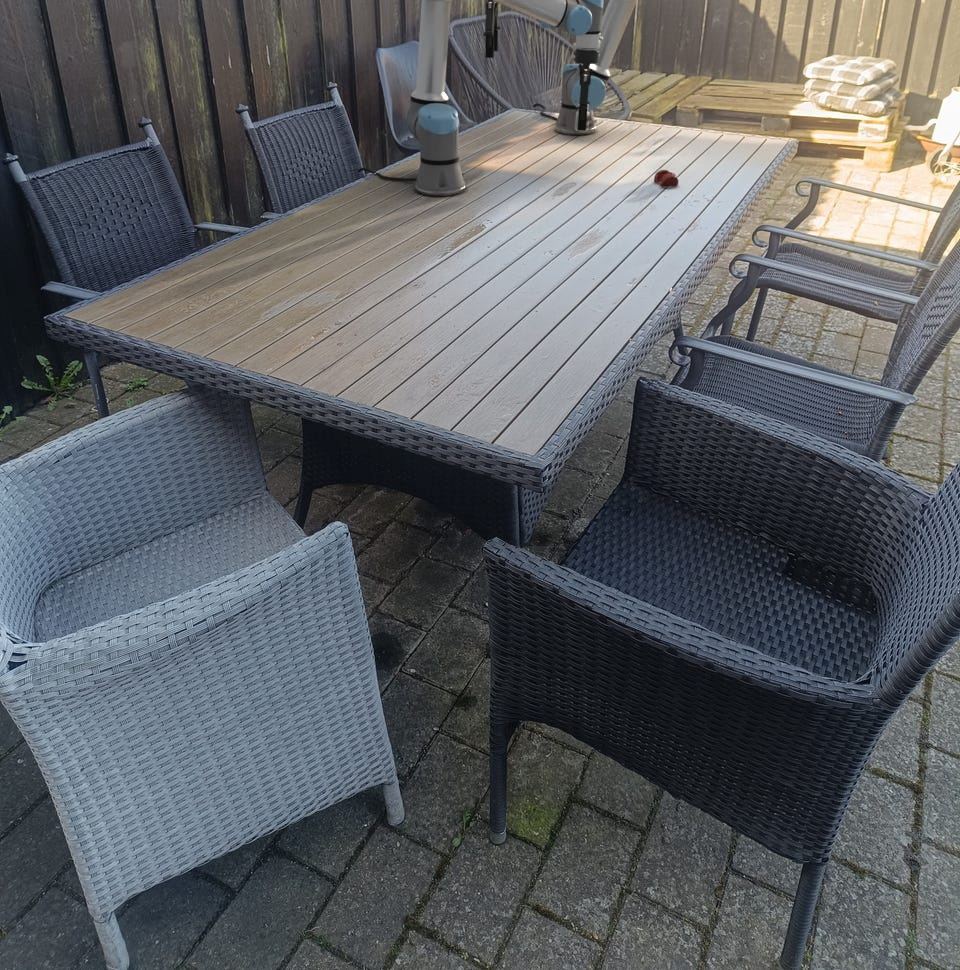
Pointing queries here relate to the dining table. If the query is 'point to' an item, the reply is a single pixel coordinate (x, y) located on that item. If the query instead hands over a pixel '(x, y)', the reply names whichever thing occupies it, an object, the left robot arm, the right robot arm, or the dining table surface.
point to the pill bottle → (586, 120)
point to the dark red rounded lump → (666, 178)
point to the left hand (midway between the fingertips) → (581, 128)
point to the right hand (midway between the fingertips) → (491, 54)
